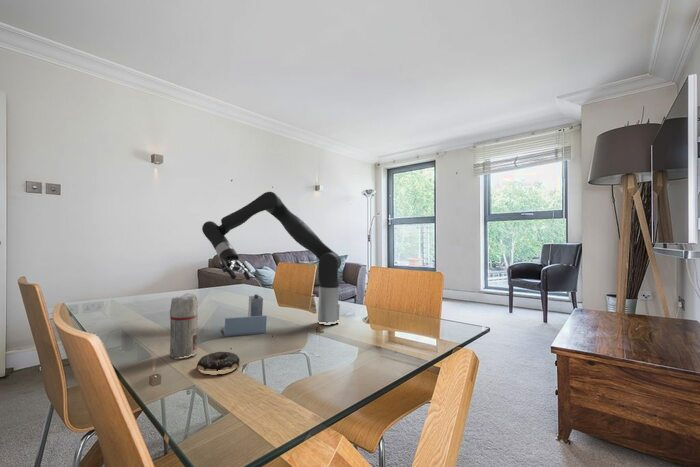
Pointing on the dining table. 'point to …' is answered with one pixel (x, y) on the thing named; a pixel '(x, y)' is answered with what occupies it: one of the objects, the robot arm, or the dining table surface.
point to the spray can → (183, 325)
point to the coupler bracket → (245, 325)
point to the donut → (218, 361)
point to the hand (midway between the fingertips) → (242, 278)
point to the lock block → (255, 305)
